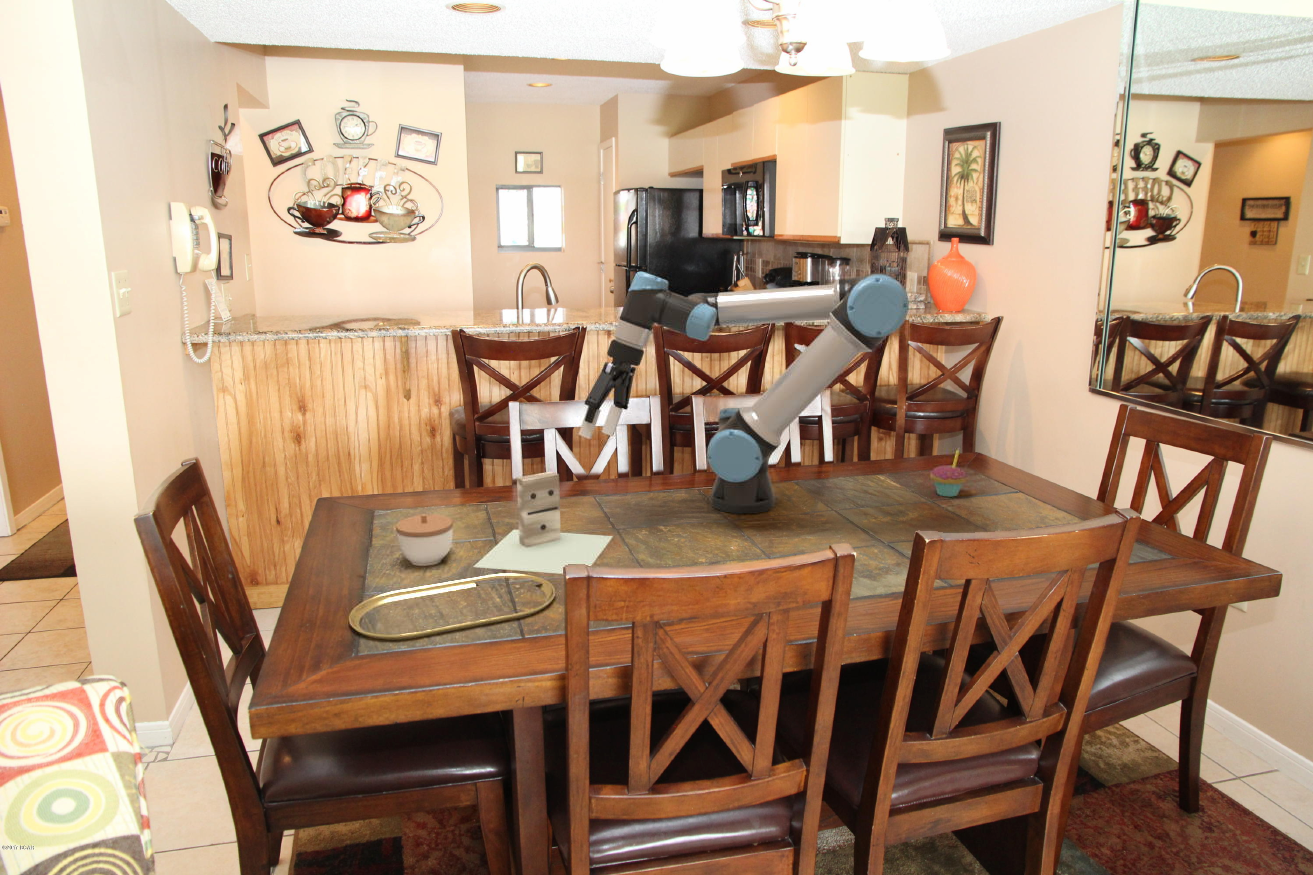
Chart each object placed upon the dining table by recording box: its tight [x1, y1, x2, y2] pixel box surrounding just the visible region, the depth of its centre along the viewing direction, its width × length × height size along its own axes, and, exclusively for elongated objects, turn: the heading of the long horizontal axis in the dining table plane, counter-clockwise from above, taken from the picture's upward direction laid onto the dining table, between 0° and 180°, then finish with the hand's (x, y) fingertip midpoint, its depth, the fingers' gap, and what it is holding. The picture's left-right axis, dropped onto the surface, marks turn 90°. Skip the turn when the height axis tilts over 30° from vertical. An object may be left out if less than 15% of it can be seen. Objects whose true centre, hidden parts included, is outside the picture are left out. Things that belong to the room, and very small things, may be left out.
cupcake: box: [929, 447, 968, 498], centre depth 217 cm, size 9×8×12 cm
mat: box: [473, 529, 614, 575], centre depth 180 cm, size 22×22×1 cm
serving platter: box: [348, 573, 556, 641], centre depth 154 cm, size 19×35×2 cm, turn 115°
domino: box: [516, 471, 562, 547], centre depth 183 cm, size 3×8×14 cm, turn 125°
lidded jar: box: [395, 513, 454, 567], centre depth 175 cm, size 11×11×9 cm
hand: (596, 435), depth 196 cm, fingers open, 13 cm apart
